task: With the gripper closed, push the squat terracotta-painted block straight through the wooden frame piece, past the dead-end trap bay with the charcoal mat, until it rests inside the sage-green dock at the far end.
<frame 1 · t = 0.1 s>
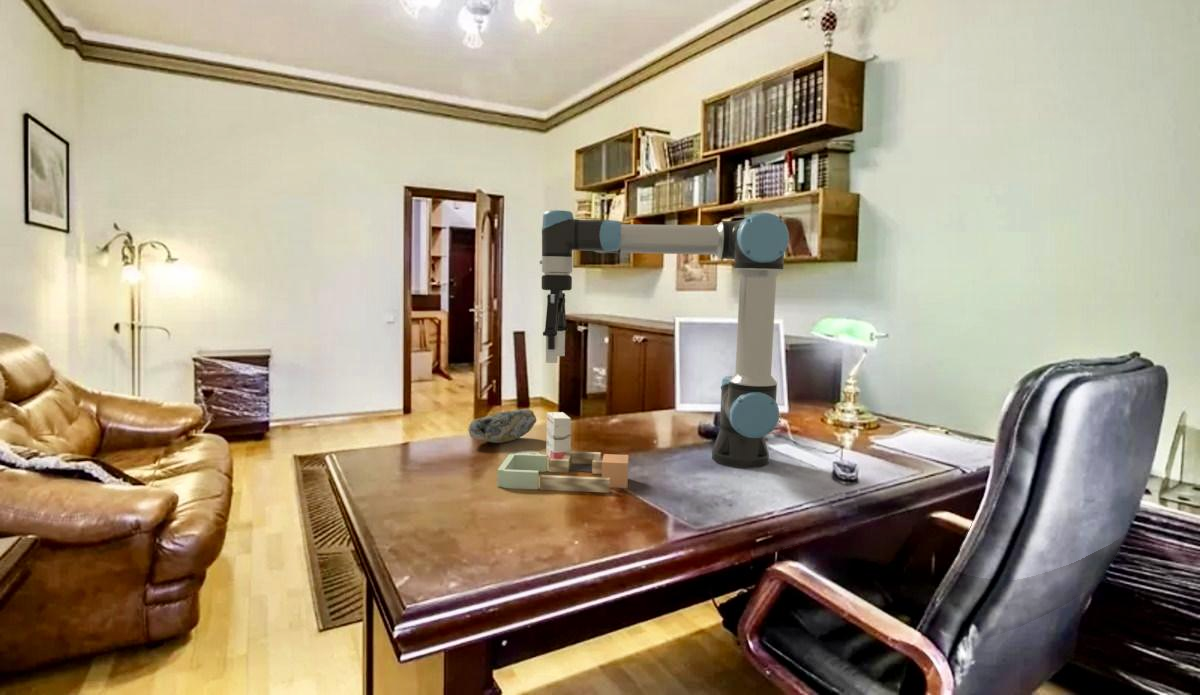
hand: (555, 359, 163), 28 cm above the table, fingers open, 13 cm apart
dock: (524, 478, 157), on the table
ink box: (558, 458, 175), on the table
wooden frame piece: (577, 480, 156), on the table
stone: (502, 443, 190), on the table
block: (615, 482, 156), on the table
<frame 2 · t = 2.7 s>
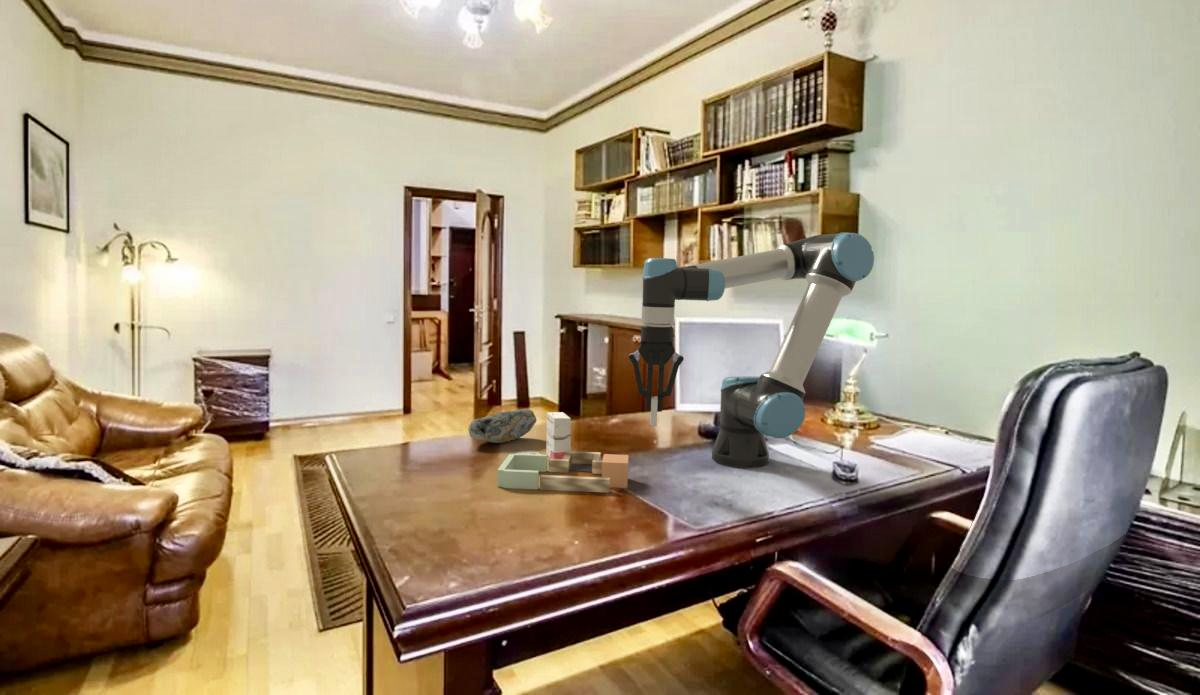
hand: (653, 424, 153), 14 cm above the table, fingers closed
nothing on the table moved.
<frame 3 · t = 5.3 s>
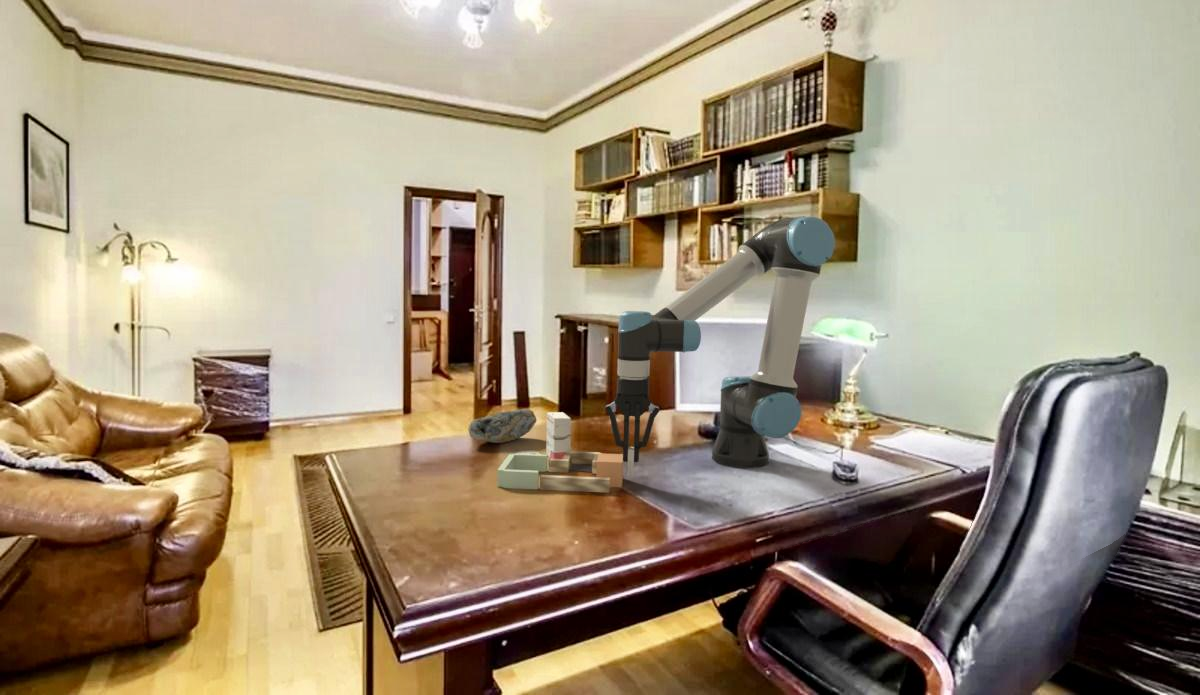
hand: (630, 474, 155), 2 cm above the table, fingers closed
block: (609, 482, 156), on the table, touching gripper
everything else where it was.
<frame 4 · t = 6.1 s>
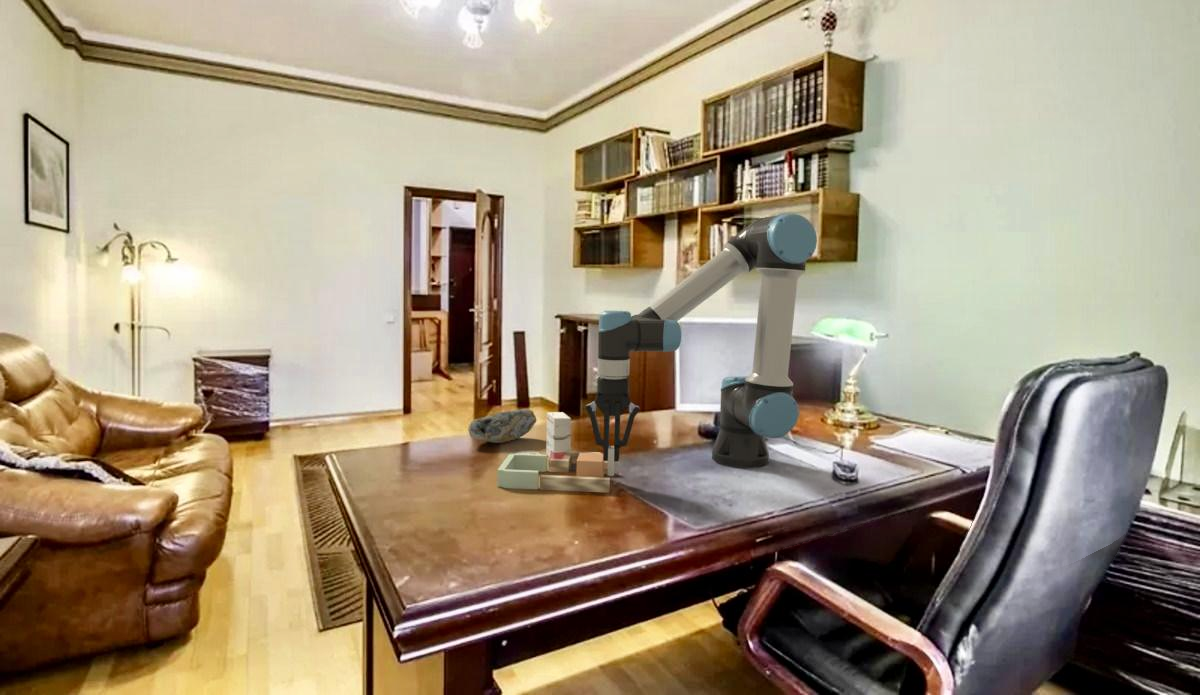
hand: (610, 473, 155), 2 cm above the table, fingers closed
block: (590, 481, 156), on the table, touching gripper
everything else where it was.
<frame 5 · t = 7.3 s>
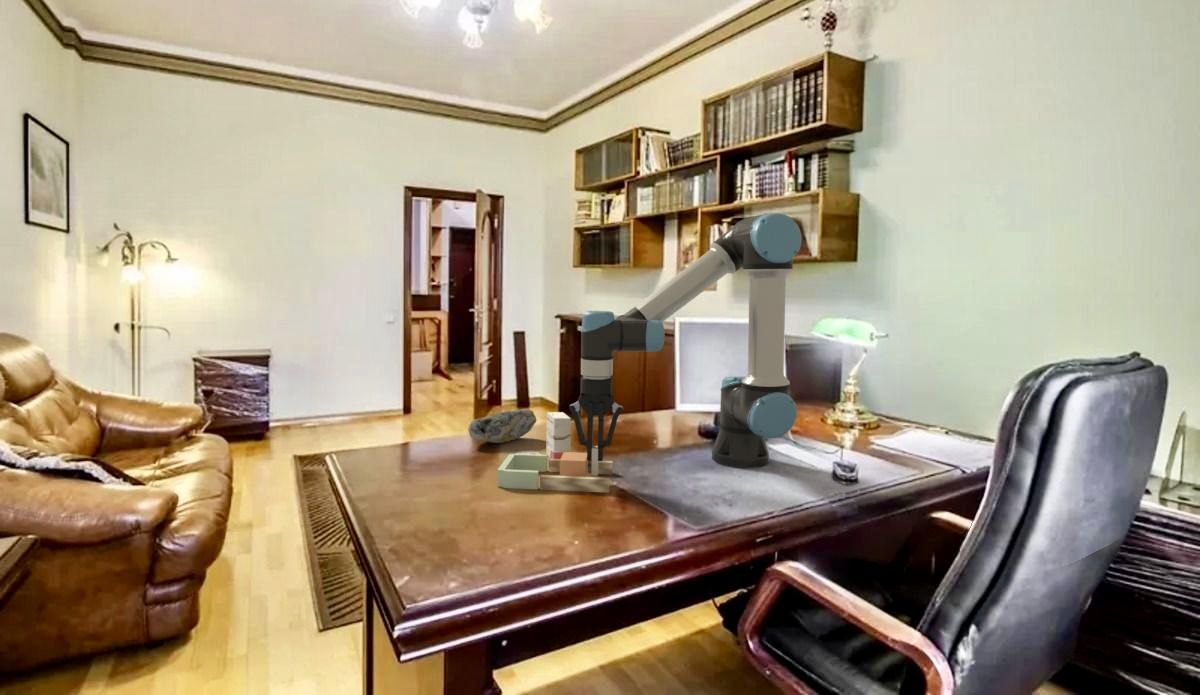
hand: (594, 473, 156), 2 cm above the table, fingers closed
block: (573, 480, 156), on the table, touching gripper
everything else where it was.
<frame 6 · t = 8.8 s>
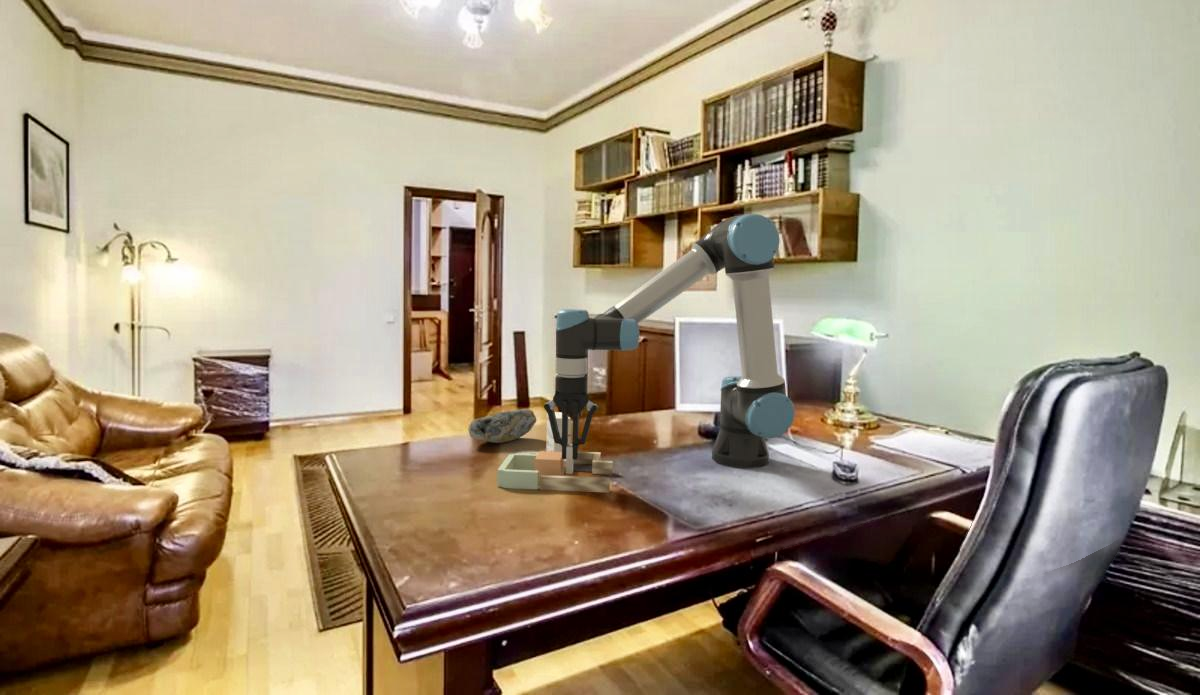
hand: (569, 472, 156), 2 cm above the table, fingers closed
block: (549, 479, 156), on the table, touching gripper
everything else where it was.
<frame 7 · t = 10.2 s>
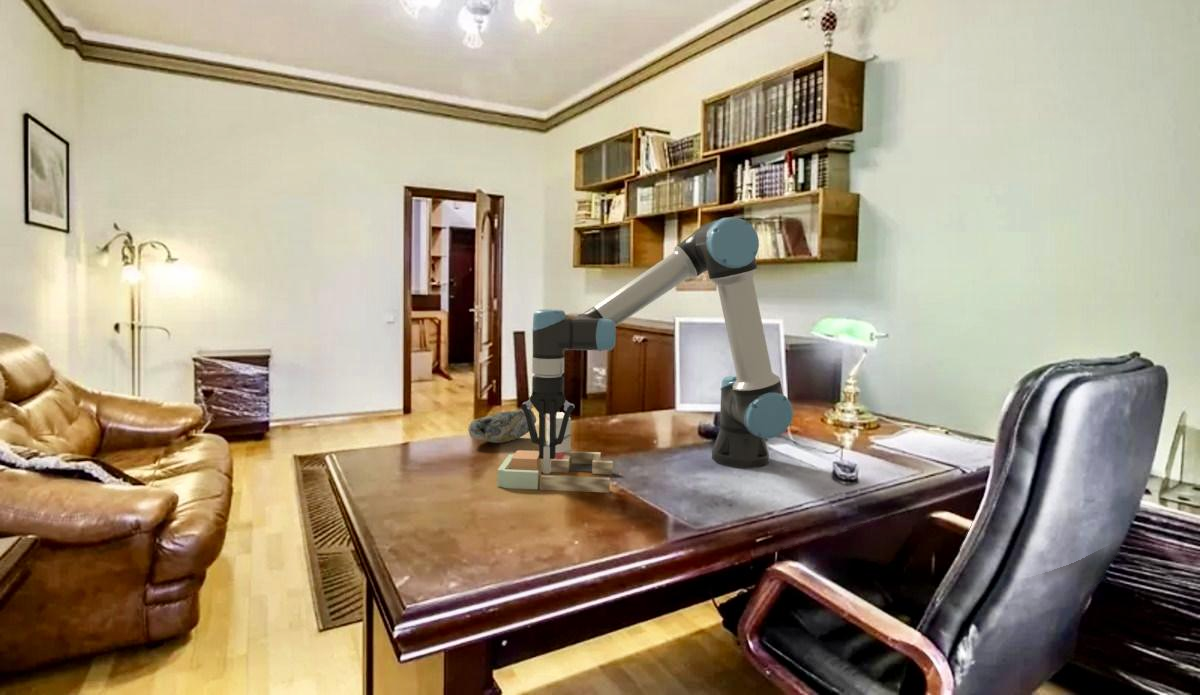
hand: (547, 471, 156), 2 cm above the table, fingers closed
block: (526, 478, 157), on the table, touching gripper
everything else where it was.
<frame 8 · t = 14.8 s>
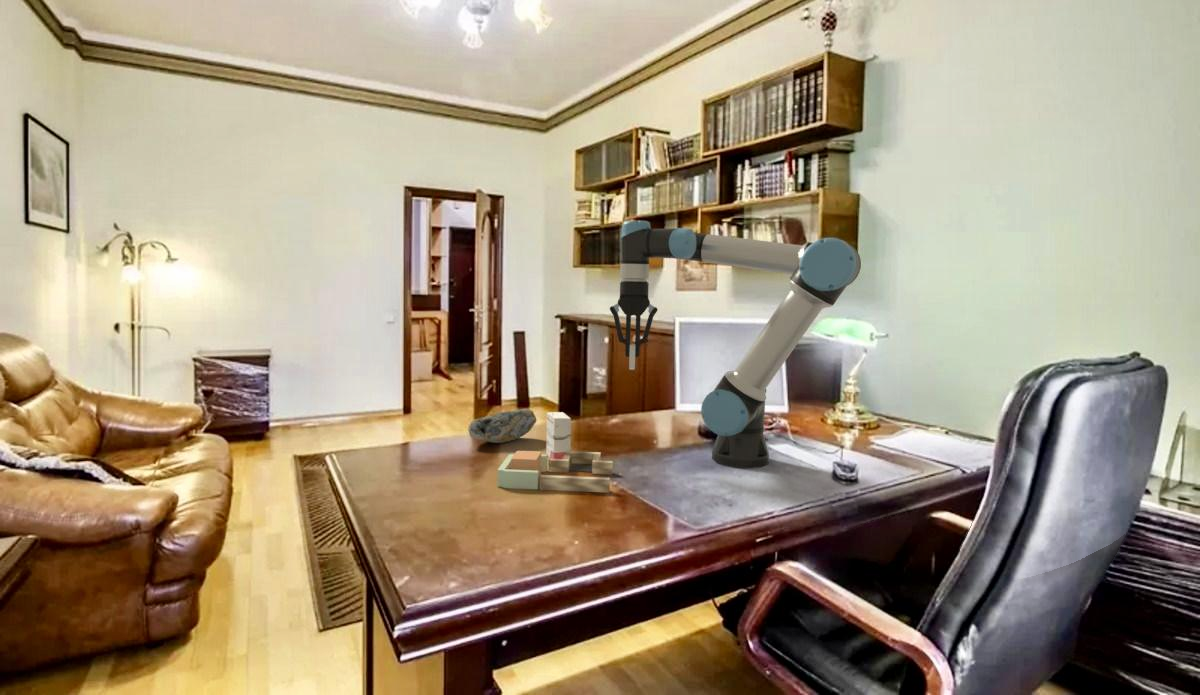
hand: (632, 368, 174), 24 cm above the table, fingers closed
block: (526, 479, 157), on the table
everything else where it was.
at the end: block inside the target area (0.9 cm from its centre), on the table; block tilted 0°; block moved 21.4 cm from its start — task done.
